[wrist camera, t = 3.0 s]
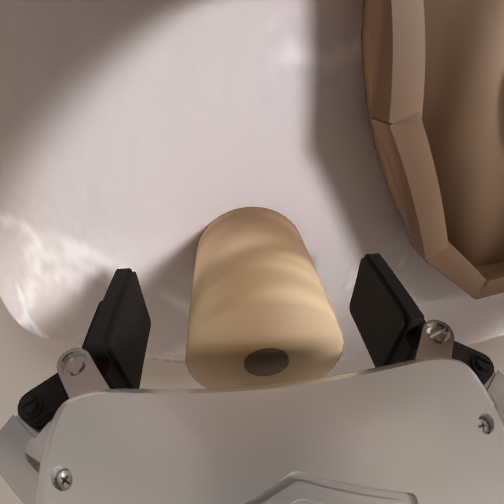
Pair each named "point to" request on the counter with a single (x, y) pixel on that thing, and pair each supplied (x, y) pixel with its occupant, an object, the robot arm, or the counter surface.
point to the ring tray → (442, 129)
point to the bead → (258, 305)
